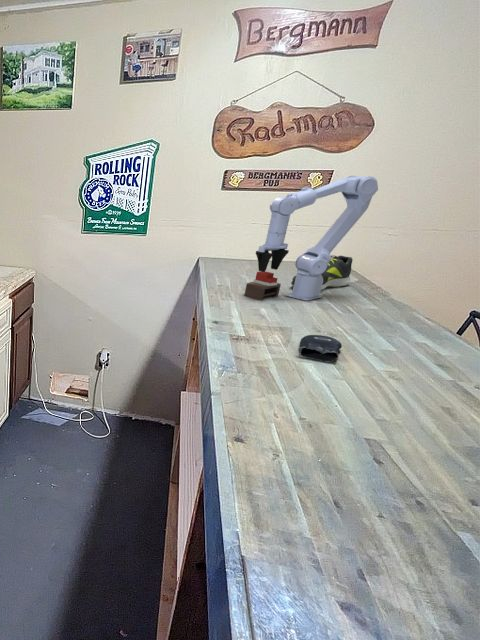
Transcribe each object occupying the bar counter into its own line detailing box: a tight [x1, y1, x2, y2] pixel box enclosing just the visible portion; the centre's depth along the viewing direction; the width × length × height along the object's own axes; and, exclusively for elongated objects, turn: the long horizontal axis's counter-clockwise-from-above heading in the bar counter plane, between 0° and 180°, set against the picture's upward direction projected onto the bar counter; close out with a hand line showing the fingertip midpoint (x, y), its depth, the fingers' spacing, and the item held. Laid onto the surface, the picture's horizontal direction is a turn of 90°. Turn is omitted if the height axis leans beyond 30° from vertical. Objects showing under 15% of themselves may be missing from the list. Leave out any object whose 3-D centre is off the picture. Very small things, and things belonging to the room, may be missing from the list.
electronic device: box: [297, 334, 343, 363], centre depth 123 cm, size 9×6×15 cm
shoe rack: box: [244, 281, 282, 301], centre depth 174 cm, size 10×7×5 cm
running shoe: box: [290, 254, 353, 291], centre depth 185 cm, size 11×30×13 cm, turn 115°
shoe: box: [252, 270, 279, 286], centre depth 172 cm, size 7×4×4 cm, turn 22°
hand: (268, 270), depth 169 cm, fingers open, 7 cm apart
